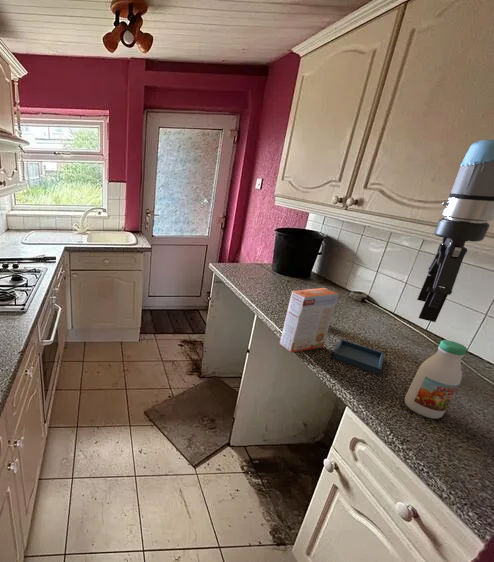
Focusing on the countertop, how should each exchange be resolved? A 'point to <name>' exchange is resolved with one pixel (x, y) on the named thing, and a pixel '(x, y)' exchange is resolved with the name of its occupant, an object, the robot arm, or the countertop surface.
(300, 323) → the cracker box
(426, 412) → the milk bottle
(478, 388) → the countertop surface
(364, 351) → the tray
